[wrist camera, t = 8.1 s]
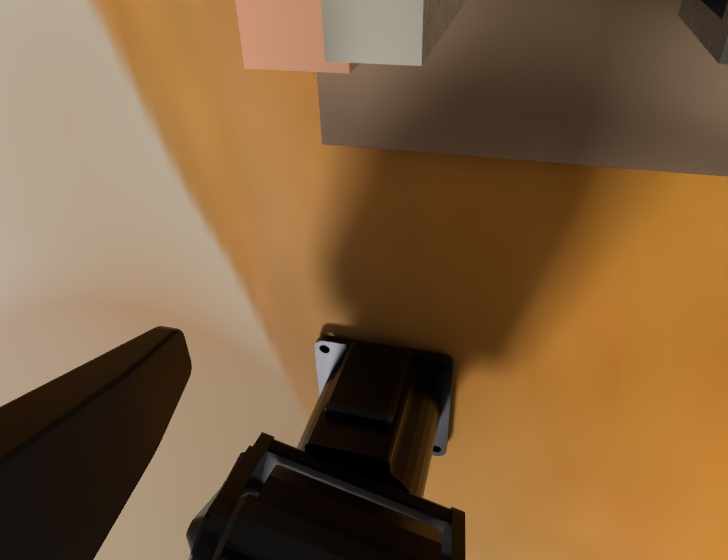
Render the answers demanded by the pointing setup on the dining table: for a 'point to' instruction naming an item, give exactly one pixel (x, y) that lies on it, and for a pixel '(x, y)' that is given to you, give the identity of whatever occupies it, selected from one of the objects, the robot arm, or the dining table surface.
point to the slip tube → (385, 29)
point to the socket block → (285, 36)
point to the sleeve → (708, 25)
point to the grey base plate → (546, 89)
